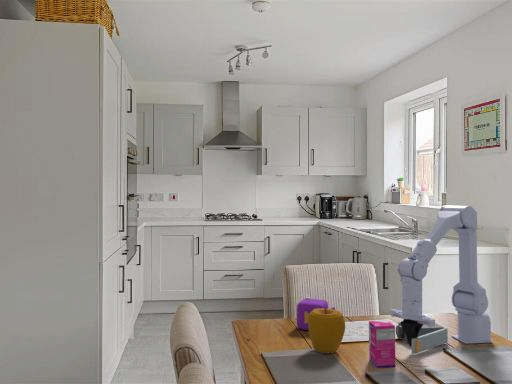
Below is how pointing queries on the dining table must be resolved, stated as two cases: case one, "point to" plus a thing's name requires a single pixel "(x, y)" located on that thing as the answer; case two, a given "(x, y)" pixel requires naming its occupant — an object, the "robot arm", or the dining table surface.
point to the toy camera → (308, 310)
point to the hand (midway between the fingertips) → (411, 345)
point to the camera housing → (423, 331)
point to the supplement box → (382, 344)
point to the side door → (429, 340)
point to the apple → (326, 329)
